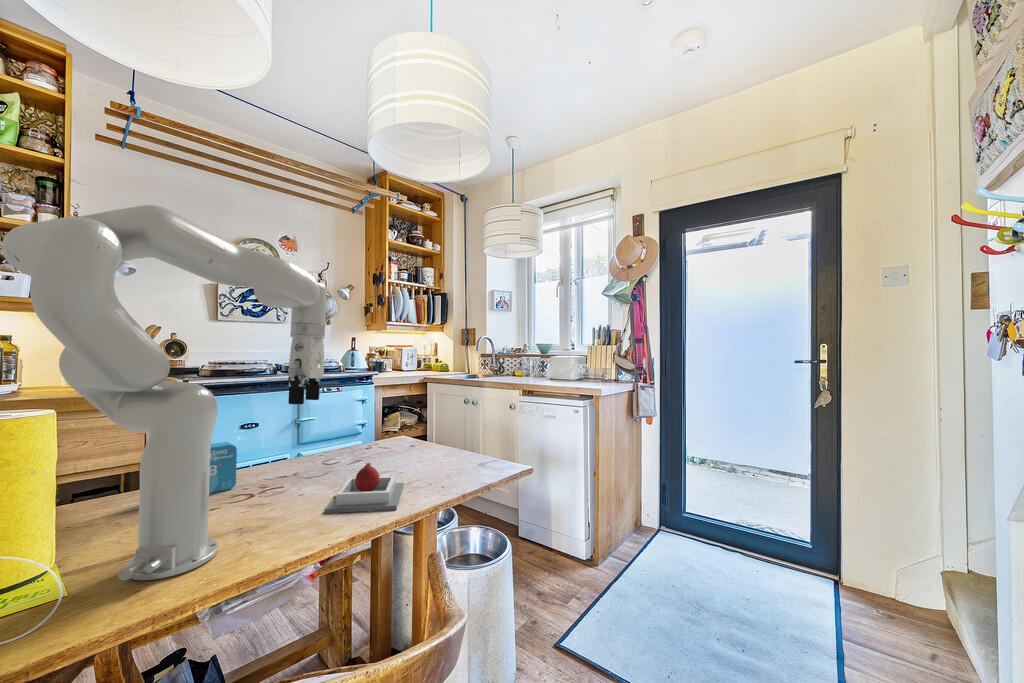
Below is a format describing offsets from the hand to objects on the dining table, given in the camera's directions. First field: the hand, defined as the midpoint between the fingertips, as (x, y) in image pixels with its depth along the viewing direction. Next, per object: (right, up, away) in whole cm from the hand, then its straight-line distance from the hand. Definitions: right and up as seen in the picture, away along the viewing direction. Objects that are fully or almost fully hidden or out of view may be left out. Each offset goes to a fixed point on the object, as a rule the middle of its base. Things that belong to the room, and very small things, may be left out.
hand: (304, 401), depth 98 cm
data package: (-29, -25, +6) cm, 39 cm away
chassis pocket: (+14, -25, +3) cm, 29 cm away
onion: (+14, -24, +3) cm, 28 cm away
